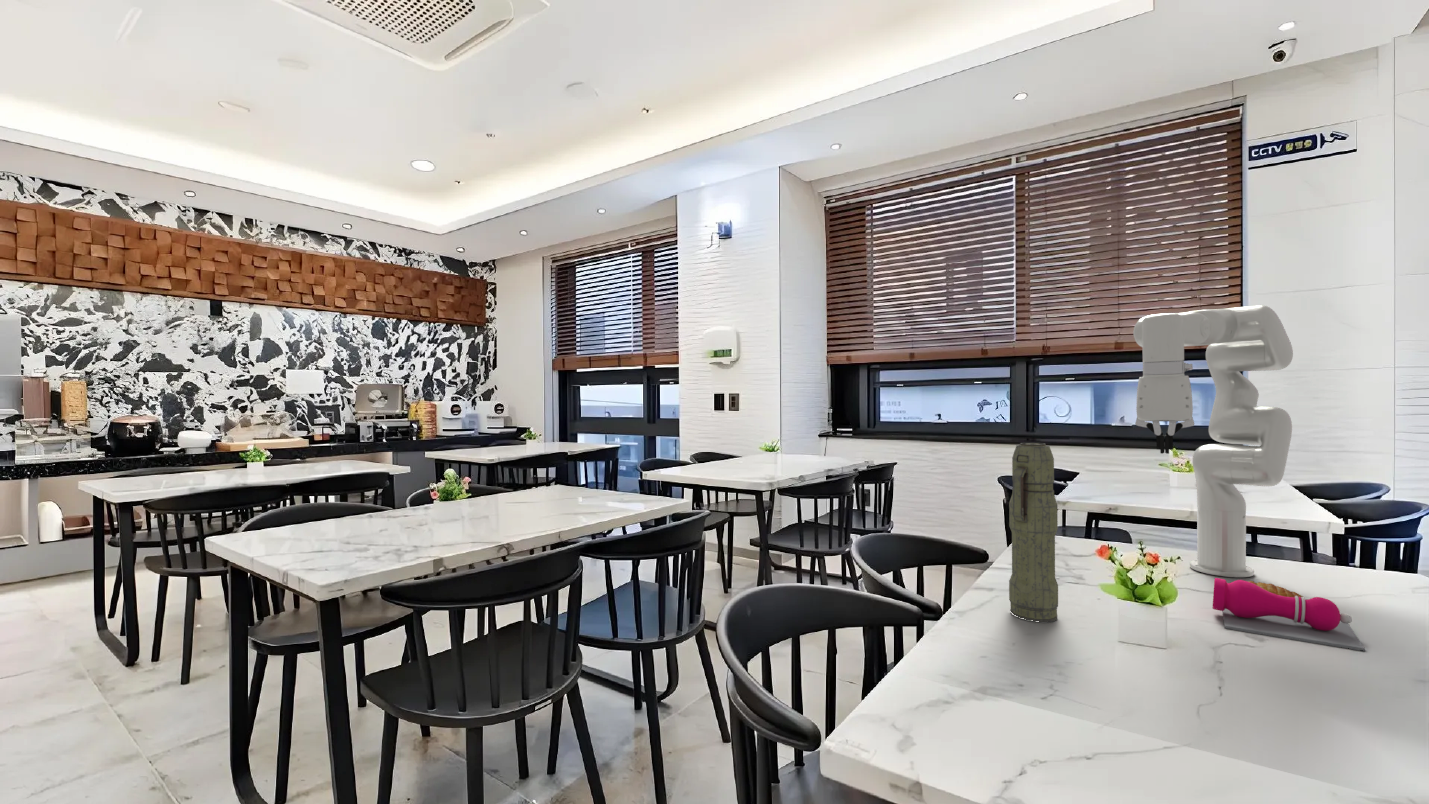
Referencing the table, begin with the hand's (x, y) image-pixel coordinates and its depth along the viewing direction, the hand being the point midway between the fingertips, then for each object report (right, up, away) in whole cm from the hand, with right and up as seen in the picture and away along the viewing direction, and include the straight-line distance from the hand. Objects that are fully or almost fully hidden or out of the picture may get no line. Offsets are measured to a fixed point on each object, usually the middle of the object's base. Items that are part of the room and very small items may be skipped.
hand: (1164, 452), depth 142 cm
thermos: (-35, -32, -12) cm, 49 cm away
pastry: (+20, -32, -4) cm, 38 cm away
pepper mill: (+1, -27, -12) cm, 30 cm away
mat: (+10, -32, -20) cm, 38 cm away
